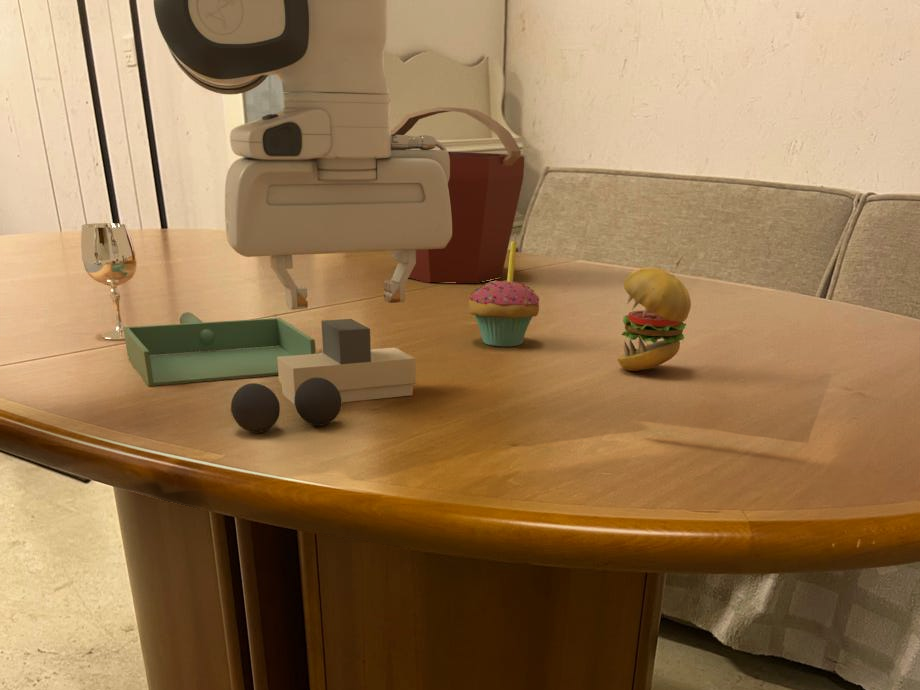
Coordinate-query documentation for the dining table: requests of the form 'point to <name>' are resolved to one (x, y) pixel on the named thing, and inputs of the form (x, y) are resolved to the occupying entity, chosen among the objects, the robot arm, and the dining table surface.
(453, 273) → the bucket
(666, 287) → the hamburger
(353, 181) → the robot arm
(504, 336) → the cupcake
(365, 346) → the brush
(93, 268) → the wineglass
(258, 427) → the ball
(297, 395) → the ball
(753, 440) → the dining table surface
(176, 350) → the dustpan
